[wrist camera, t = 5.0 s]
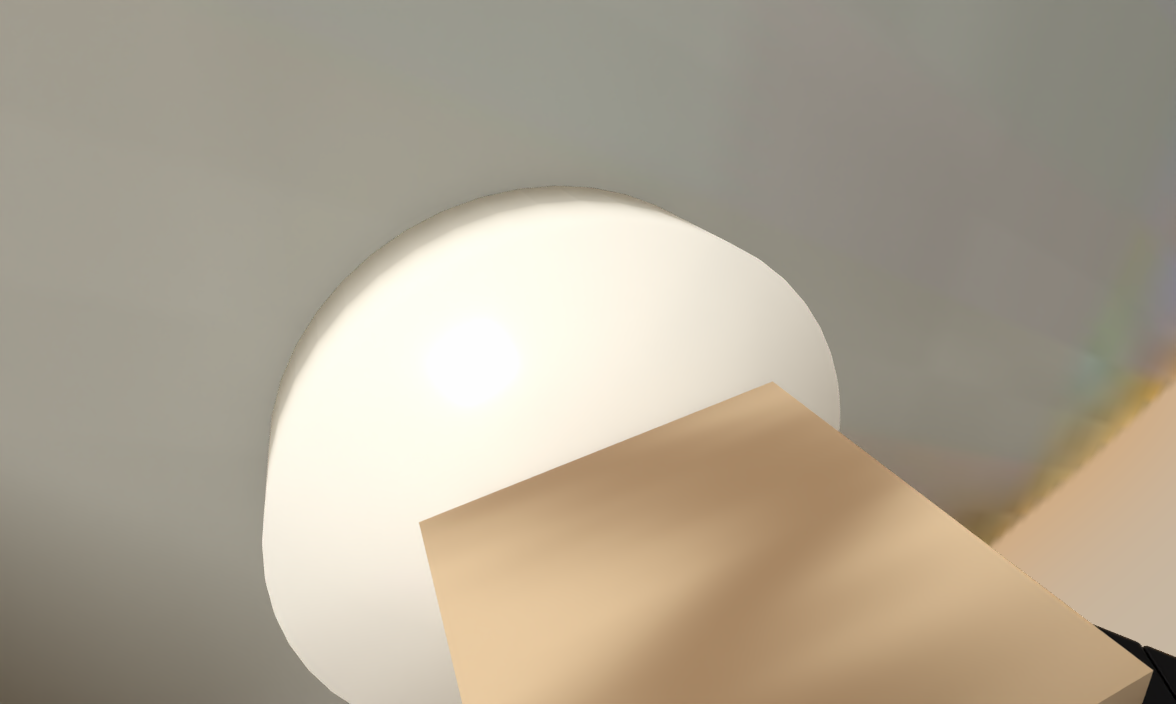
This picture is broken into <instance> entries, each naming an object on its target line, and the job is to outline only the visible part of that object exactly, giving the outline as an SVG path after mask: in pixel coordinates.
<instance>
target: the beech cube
mask: <svg viewBox="0 0 1176 704" xmlns="http://www.w3.org/2000/svg"><path fill="white" fill-rule="evenodd" d="M419 525H420V529H421V534H422V538H423V542H424V546H425V550H426V554H427V559H428V563H429V567H430V571H431V575H432V579H433V584H434V588H435V592H436V596H437V600H438V604H439V609H440V613H441V617H442V621H443V625H444V629H445V634H446V638H447V642H448V646H449V650H450V654H451V659H452V663H453V667H454V671H455V675H456V679H457V684H458V688H459V692H460V696H461V700H462V704H1142V703H1143V700H1144V697H1145V694H1146V691H1147V688H1148V685H1149V682H1150V679H1151V676H1152V673H1153V670H1152V669H1151V668H1149V667H1148V666H1147V665H1145V664H1144V663H1143V662H1142V661H1140V660H1139V659H1138V658H1136V657H1135V656H1134V655H1132V654H1131V653H1130V652H1128V651H1127V650H1126V649H1124V648H1123V647H1122V646H1120V645H1119V644H1118V643H1117V642H1115V641H1114V640H1113V639H1111V638H1110V637H1109V636H1107V635H1106V634H1105V633H1103V632H1102V631H1101V630H1099V629H1098V628H1097V627H1095V626H1094V625H1093V624H1091V623H1090V622H1089V621H1088V620H1086V619H1085V618H1084V617H1082V616H1081V615H1080V614H1078V613H1077V612H1076V611H1074V610H1073V609H1072V608H1070V607H1069V606H1068V605H1066V604H1065V603H1064V602H1063V601H1061V600H1060V599H1058V598H1057V597H1056V596H1055V595H1053V594H1052V593H1051V592H1049V591H1048V590H1047V589H1045V588H1044V587H1043V586H1041V585H1040V584H1039V583H1037V582H1036V581H1035V580H1033V579H1032V578H1031V577H1030V576H1028V575H1027V574H1026V573H1024V572H1023V571H1022V570H1020V569H1019V568H1018V567H1016V566H1015V565H1014V564H1012V563H1011V562H1010V561H1008V560H1007V559H1006V558H1004V557H1003V556H1002V555H1001V554H999V553H998V552H997V551H995V550H994V549H993V548H991V547H990V546H989V545H987V544H986V543H985V542H984V541H982V540H981V539H980V538H978V537H977V536H976V535H974V534H973V533H972V532H970V531H969V530H968V529H966V528H965V527H964V526H962V525H961V524H960V523H958V522H957V521H956V520H955V519H953V518H952V517H951V516H949V515H948V514H947V513H945V512H944V511H943V510H941V509H940V508H939V507H937V506H936V505H935V504H933V503H932V502H931V501H930V500H928V499H927V498H926V497H924V496H923V495H922V494H920V493H919V492H918V491H916V490H915V489H914V488H912V487H911V486H910V485H908V484H907V483H906V482H904V481H903V480H902V479H901V478H899V477H898V476H897V475H895V474H894V473H893V472H891V471H890V470H889V469H887V468H886V467H885V466H883V465H882V464H881V463H879V462H878V461H877V460H876V459H874V458H873V457H872V456H870V455H869V454H868V453H866V452H865V451H864V450H862V449H861V448H860V447H858V446H857V445H856V444H854V443H853V442H852V441H850V440H849V439H848V438H847V437H845V436H844V435H843V434H841V433H840V432H839V431H837V430H836V429H835V428H833V427H832V426H831V425H829V424H828V423H827V422H825V421H824V420H823V419H822V418H820V417H819V416H818V415H816V414H815V413H814V412H812V411H811V410H810V409H808V408H807V407H806V406H804V405H803V404H802V403H800V402H799V401H798V400H797V399H795V398H794V397H793V396H791V395H790V394H789V393H787V392H786V391H785V390H783V389H782V388H781V387H779V386H778V385H777V384H775V383H774V382H773V381H772V382H770V383H767V384H765V385H762V386H760V387H757V388H755V389H752V390H750V391H747V392H745V393H742V394H740V395H737V396H735V397H732V398H730V399H727V400H725V401H722V402H720V403H717V404H715V405H712V406H710V407H707V408H705V409H702V410H700V411H697V412H695V413H692V414H690V415H687V416H685V417H682V418H679V419H677V420H674V421H672V422H669V423H667V424H664V425H662V426H659V427H657V428H654V429H652V430H649V431H647V432H644V433H642V434H639V435H637V436H634V437H632V438H629V439H627V440H624V441H622V442H619V443H617V444H614V445H612V446H609V447H607V448H604V449H602V450H599V451H597V452H594V453H592V454H589V455H587V456H584V457H582V458H579V459H576V460H574V461H571V462H569V463H566V464H564V465H561V466H559V467H556V468H554V469H551V470H549V471H546V472H544V473H541V474H539V475H536V476H534V477H531V478H529V479H526V480H524V481H521V482H519V483H516V484H514V485H511V486H509V487H506V488H504V489H501V490H499V491H496V492H494V493H491V494H489V495H486V496H484V497H481V498H479V499H476V500H473V501H471V502H468V503H466V504H463V505H461V506H458V507H456V508H453V509H451V510H448V511H446V512H443V513H441V514H438V515H436V516H433V517H431V518H428V519H426V520H423V521H421V522H419Z"/></svg>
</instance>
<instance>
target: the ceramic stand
mask: <svg viewBox="0 0 1176 704" xmlns="http://www.w3.org/2000/svg"><path fill="white" fill-rule="evenodd" d="M772 381H773V382H774V383H775V384H777V385H778V386H779V387H781V388H782V389H783V390H785V391H786V392H787V393H789V394H790V395H791V396H793V397H794V398H795V399H797V400H798V401H799V402H800V403H802V404H803V405H804V406H806V407H807V408H808V409H810V410H811V411H812V412H814V413H815V414H816V415H818V416H819V417H820V418H822V419H823V420H824V421H825V422H827V423H828V424H829V425H831V426H832V427H833V428H835V429H836V430H837V431H839V430H840V400H839V387H838V380H837V376H836V372H835V367H834V363H833V359H832V355H831V352H830V350H829V347H828V345H827V342H826V340H825V337H824V335H823V333H822V330H821V328H820V326H819V325H818V323H817V321H816V320H815V318H814V316H813V315H812V313H811V312H810V310H809V308H808V307H807V305H806V303H805V302H804V301H803V300H802V299H801V298H800V296H799V295H798V294H797V293H796V292H795V291H794V290H793V288H792V287H791V286H790V285H789V284H788V283H787V282H786V281H785V279H783V278H782V277H781V276H780V275H778V274H777V273H776V272H775V271H773V270H772V269H771V268H770V267H768V266H767V265H766V264H765V263H763V262H762V261H761V260H760V259H758V258H756V257H754V256H752V255H751V254H749V253H747V252H745V251H743V250H742V249H740V248H738V247H736V246H734V245H732V244H731V243H729V242H727V241H725V240H723V239H721V238H719V237H717V236H715V235H713V234H711V233H709V232H707V231H705V230H703V229H701V228H699V227H697V226H695V225H693V224H691V223H689V222H688V221H686V220H684V219H682V218H680V217H678V216H676V215H674V214H672V213H670V212H668V211H666V210H664V209H662V208H660V207H658V206H656V205H653V204H651V203H648V202H645V201H642V200H640V199H637V198H634V197H631V196H629V195H626V194H621V193H616V192H611V191H606V190H601V189H596V188H590V187H571V186H546V187H535V188H523V189H516V190H511V191H507V192H502V193H498V194H493V195H489V196H484V197H480V198H477V199H475V200H472V201H469V202H466V203H464V204H461V205H458V206H455V207H453V208H450V209H447V210H445V211H442V212H440V213H438V214H436V215H434V216H432V217H430V218H429V219H427V220H425V221H423V222H421V223H419V224H417V225H415V226H413V227H411V228H409V229H408V230H406V231H404V232H403V233H401V234H400V235H399V236H397V237H396V238H394V239H393V240H391V241H390V242H389V243H387V244H386V245H384V246H383V247H381V248H380V249H379V250H377V251H376V252H374V253H373V254H372V255H370V256H369V257H368V258H367V259H366V260H365V261H364V262H363V263H362V264H361V265H360V266H359V267H357V268H356V269H355V270H354V271H353V272H352V273H351V274H350V275H349V276H348V277H347V278H345V279H344V280H343V281H342V282H341V283H340V285H339V286H338V287H337V288H336V289H335V291H334V292H333V293H332V294H331V295H330V297H329V298H328V299H327V300H326V302H325V303H324V304H323V305H322V306H321V308H320V309H319V310H318V311H317V312H316V314H315V315H314V317H313V319H312V320H311V322H310V324H309V325H308V327H307V328H306V330H305V332H304V333H303V335H302V337H301V338H300V340H299V341H298V343H297V345H296V346H295V349H294V351H293V353H292V356H291V358H290V360H289V363H288V365H287V367H286V370H285V372H284V374H283V376H282V379H281V381H280V385H279V389H278V393H277V397H276V401H275V405H274V408H273V412H272V418H271V428H270V439H269V450H268V464H267V479H266V494H265V509H264V524H263V538H262V548H263V560H264V572H265V581H266V585H267V589H268V592H269V596H270V600H271V603H272V607H273V611H274V614H275V616H276V618H277V620H278V622H279V624H280V627H281V629H282V631H283V633H284V635H285V637H286V639H287V641H288V643H289V645H290V646H291V647H292V649H293V650H294V651H295V653H296V654H297V655H298V657H299V658H300V659H301V661H302V662H303V663H304V665H305V666H306V667H307V669H308V670H309V671H310V672H311V673H312V674H313V675H314V676H315V677H317V678H318V679H319V680H320V681H321V682H322V683H323V684H324V685H325V686H326V687H327V688H328V689H329V690H331V691H332V692H333V693H334V694H336V695H338V696H339V697H341V698H342V699H344V700H345V701H347V702H348V703H350V704H462V700H461V696H460V692H459V688H458V684H457V679H456V675H455V671H454V667H453V663H452V659H451V654H450V650H449V646H448V642H447V638H446V634H445V629H444V625H443V621H442V617H441V613H440V609H439V604H438V600H437V596H436V592H435V588H434V584H433V579H432V575H431V571H430V567H429V563H428V559H427V554H426V550H425V546H424V542H423V538H422V534H421V529H420V525H419V522H421V521H423V520H426V519H428V518H431V517H433V516H436V515H438V514H441V513H443V512H446V511H448V510H451V509H453V508H456V507H458V506H461V505H463V504H466V503H468V502H471V501H473V500H476V499H479V498H481V497H484V496H486V495H489V494H491V493H494V492H496V491H499V490H501V489H504V488H506V487H509V486H511V485H514V484H516V483H519V482H521V481H524V480H526V479H529V478H531V477H534V476H536V475H539V474H541V473H544V472H546V471H549V470H551V469H554V468H556V467H559V466H561V465H564V464H566V463H569V462H571V461H574V460H576V459H579V458H582V457H584V456H587V455H589V454H592V453H594V452H597V451H599V450H602V449H604V448H607V447H609V446H612V445H614V444H617V443H619V442H622V441H624V440H627V439H629V438H632V437H634V436H637V435H639V434H642V433H644V432H647V431H649V430H652V429H654V428H657V427H659V426H662V425H664V424H667V423H669V422H672V421H674V420H677V419H679V418H682V417H685V416H687V415H690V414H692V413H695V412H697V411H700V410H702V409H705V408H707V407H710V406H712V405H715V404H717V403H720V402H722V401H725V400H727V399H730V398H732V397H735V396H737V395H740V394H742V393H745V392H747V391H750V390H752V389H755V388H757V387H760V386H762V385H765V384H767V383H770V382H772Z"/></svg>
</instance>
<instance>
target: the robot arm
mask: <svg viewBox="0 0 1176 704" xmlns="http://www.w3.org/2000/svg"><path fill="white" fill-rule="evenodd" d="M1093 625H1094V624H1093ZM1094 626H1095V627H1097V628H1098V629H1099V630H1101V631H1102V632H1103V633H1105V634H1106V635H1107V636H1109V637H1110V638H1111V639H1113V640H1114V641H1115V642H1117V643H1118V644H1119V645H1120V646H1122V647H1123V648H1124V649H1126V650H1127V651H1128V652H1130V653H1131V654H1132V655H1134V656H1135V657H1136V658H1138V659H1139V660H1140V661H1142V662H1143V663H1144V664H1145V665H1147V666H1148V667H1149V668H1151V669H1152V670H1153V673H1152V676H1151V679H1150V682H1149V685H1148V688H1147V691H1146V694H1145V697H1144V700H1143V703H1142V704H1176V657H1174V656H1172V655H1169V654H1166V653H1164V652H1162V651H1159V650H1156V649H1154V648H1152V647H1149V646H1144V647H1142V646H1141V645H1140V644H1139V643H1138V642H1136V641H1133V640H1131V639H1129V638H1126V637H1123V636H1121V635H1118V634H1116V633H1114V632H1111V631H1108V630H1106V629H1104V628H1101V627H1099V626H1096V625H1094Z"/></svg>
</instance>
